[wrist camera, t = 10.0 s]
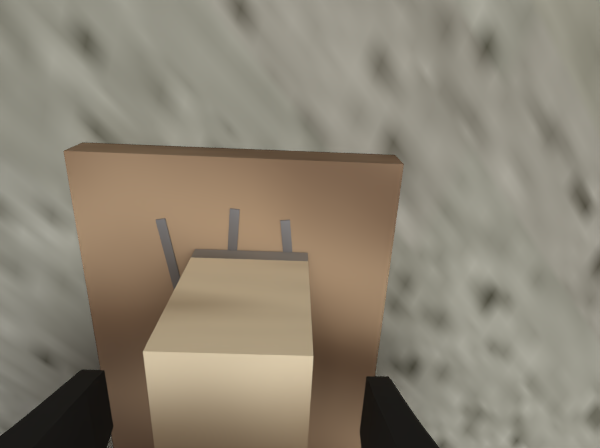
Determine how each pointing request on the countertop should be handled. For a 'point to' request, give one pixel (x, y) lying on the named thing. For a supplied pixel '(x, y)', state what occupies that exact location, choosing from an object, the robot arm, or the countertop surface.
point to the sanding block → (233, 353)
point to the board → (235, 236)
